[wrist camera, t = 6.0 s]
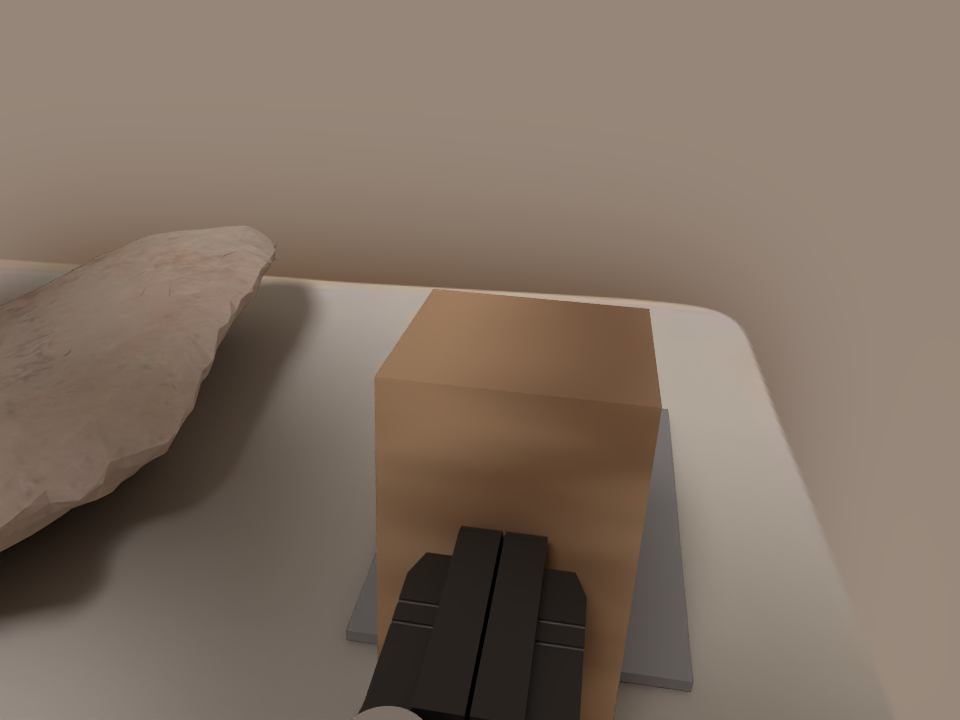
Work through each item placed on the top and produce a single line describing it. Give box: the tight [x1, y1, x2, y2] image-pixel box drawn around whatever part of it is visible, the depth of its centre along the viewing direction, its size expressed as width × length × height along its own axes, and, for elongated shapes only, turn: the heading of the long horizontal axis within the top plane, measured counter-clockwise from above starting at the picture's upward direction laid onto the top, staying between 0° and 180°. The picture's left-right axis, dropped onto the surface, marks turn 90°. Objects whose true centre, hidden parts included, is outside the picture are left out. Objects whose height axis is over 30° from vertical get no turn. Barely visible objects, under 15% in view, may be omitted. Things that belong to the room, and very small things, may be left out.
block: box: [375, 289, 662, 720], centre depth 17 cm, size 4×4×12 cm
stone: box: [0, 225, 276, 552], centre depth 30 cm, size 14×5×25 cm
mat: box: [346, 409, 693, 692], centre depth 28 cm, size 10×14×1 cm
